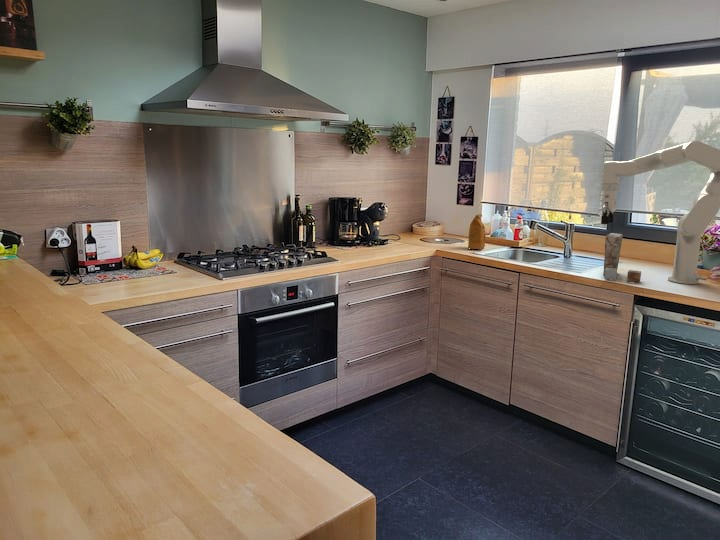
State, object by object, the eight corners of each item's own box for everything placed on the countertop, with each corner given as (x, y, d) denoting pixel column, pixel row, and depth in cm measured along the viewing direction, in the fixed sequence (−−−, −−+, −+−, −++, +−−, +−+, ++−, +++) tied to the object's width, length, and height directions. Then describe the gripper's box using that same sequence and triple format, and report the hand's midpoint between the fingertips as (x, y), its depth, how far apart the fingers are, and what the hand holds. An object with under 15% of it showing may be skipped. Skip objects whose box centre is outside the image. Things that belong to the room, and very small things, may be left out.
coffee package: (487, 248, 348) (489, 213, 343) (481, 251, 337) (483, 215, 333) (472, 247, 353) (473, 212, 348) (465, 249, 342) (467, 214, 338)
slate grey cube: (615, 278, 262) (616, 268, 261) (616, 280, 257) (617, 270, 256) (604, 277, 264) (605, 267, 263) (604, 279, 259) (605, 269, 258)
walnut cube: (640, 281, 256) (641, 271, 255) (638, 283, 251) (639, 273, 250) (628, 280, 258) (629, 270, 257) (626, 282, 254) (627, 271, 253)
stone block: (617, 277, 264) (621, 236, 260) (601, 276, 267) (605, 235, 263) (618, 272, 275) (623, 233, 272) (603, 271, 279) (607, 232, 275)
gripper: (614, 188, 253) (611, 225, 257) (622, 187, 267) (619, 222, 270) (597, 188, 258) (594, 224, 261) (605, 186, 271) (602, 221, 275)
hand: (606, 223), depth 266 cm, fingers open, 9 cm apart
